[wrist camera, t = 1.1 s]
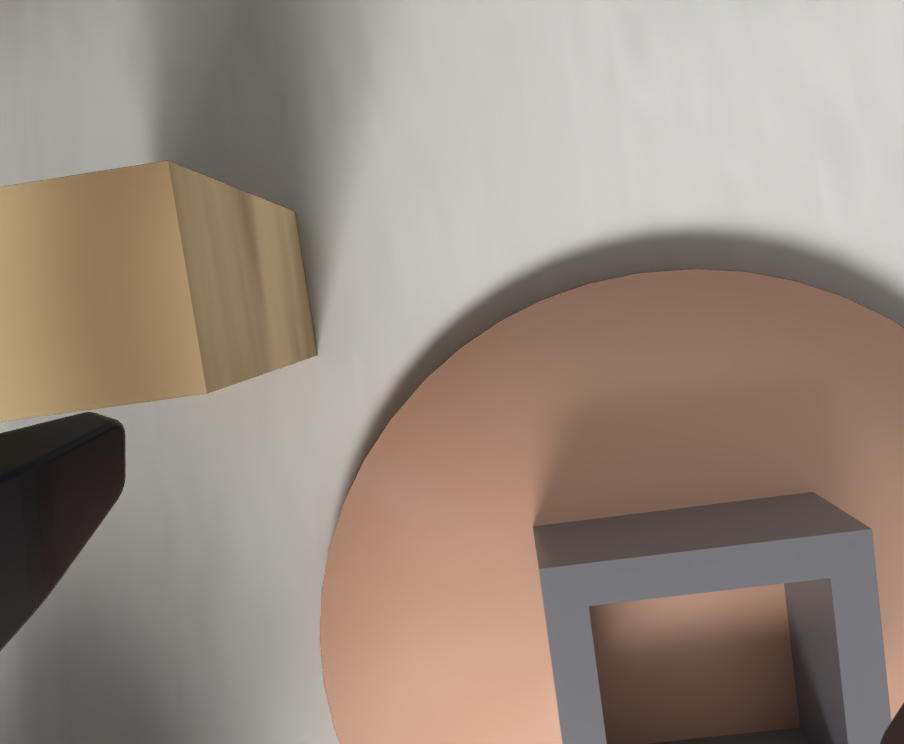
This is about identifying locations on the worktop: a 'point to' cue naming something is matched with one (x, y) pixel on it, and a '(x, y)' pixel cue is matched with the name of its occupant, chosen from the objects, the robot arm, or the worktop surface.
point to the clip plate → (633, 527)
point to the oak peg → (143, 289)
